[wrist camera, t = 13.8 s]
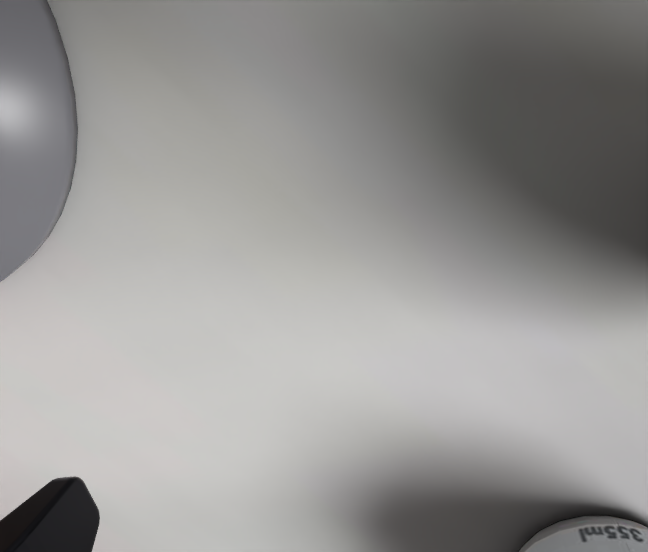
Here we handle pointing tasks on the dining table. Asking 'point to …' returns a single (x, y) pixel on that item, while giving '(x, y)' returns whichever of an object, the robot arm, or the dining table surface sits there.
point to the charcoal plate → (33, 129)
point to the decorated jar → (590, 536)
